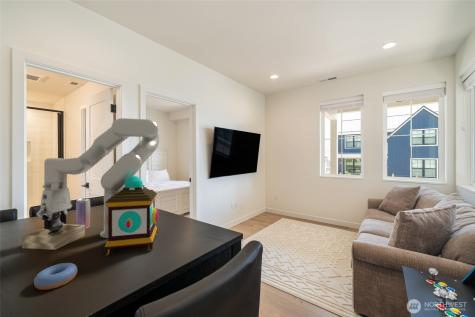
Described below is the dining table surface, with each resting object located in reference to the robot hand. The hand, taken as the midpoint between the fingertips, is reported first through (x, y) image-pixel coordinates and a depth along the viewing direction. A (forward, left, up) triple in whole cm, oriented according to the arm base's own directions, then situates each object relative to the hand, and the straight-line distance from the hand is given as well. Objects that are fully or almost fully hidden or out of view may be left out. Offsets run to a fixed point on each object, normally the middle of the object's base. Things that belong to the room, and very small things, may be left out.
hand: (55, 225), depth 90 cm
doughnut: (-27, +26, -7) cm, 39 cm away
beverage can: (+2, -17, -7) cm, 19 cm away
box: (0, 0, -7) cm, 7 cm away
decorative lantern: (-36, 0, -7) cm, 37 cm away
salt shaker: (0, 0, -3) cm, 3 cm away
